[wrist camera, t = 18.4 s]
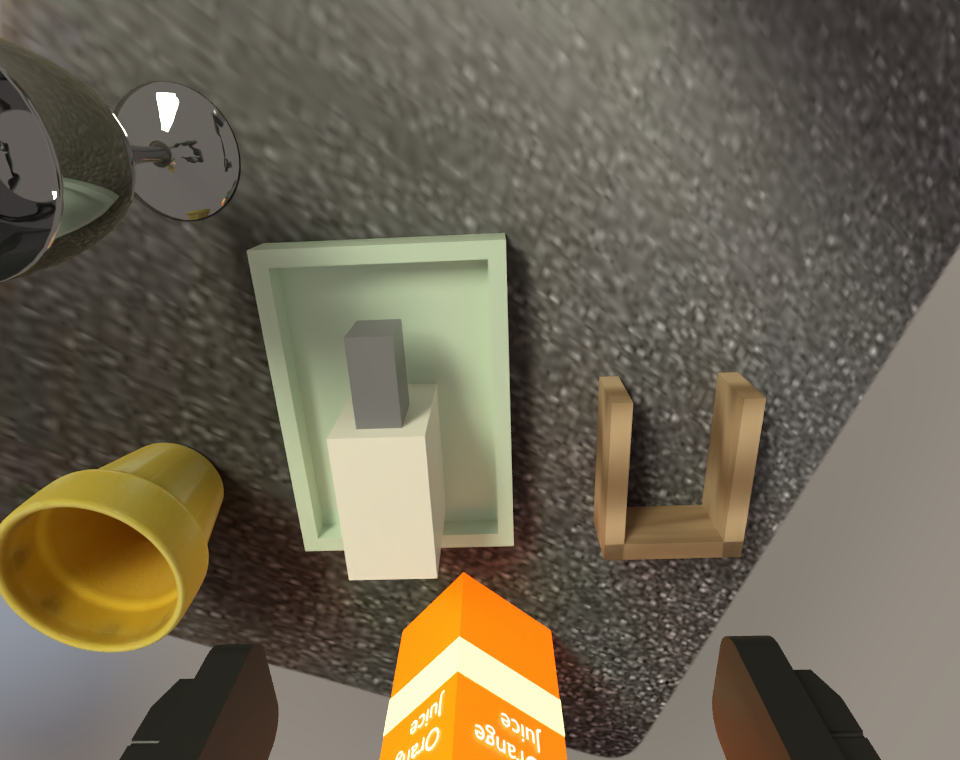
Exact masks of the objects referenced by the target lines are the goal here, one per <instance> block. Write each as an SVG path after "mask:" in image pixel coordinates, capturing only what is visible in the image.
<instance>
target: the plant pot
mask: <svg viewBox="0 0 960 760" xmlns="http://www.w3.org/2000/svg"><path fill="white" fill-rule="evenodd" d="M223 497H224V488H223V483H222V480H221V477H220V475H219V473H218V472H217V470H216V469H215V467H214V466H213V465H212V463H211V462H210V461H209V460H208V459H207V458H205V457H204V456H203V455H201V454H200V453H198V452H196V451H195V450H193V449H191V448H188V447H186V446H183V445H179V444H175V443H155V444H151V445H148V446H145V447H142V448H140V449H138V450H136V451H134V452H132V453H130V454H128V455H126V456H124V457H122V458H120V459H118V460H116V461H114V462H112V463H110V464H108V465H105V466H103V467H101V468H99V469H92V470H83V471H78V472H74V473H71V474H68V475H65V476H63V477H61V478H59V479H57V480H55V481H54V482H52V483H51V484H49V485H48V486H46V487H45V488H43V489H42V490H40V491H39V492H38V493H36V494H35V495H33V496H32V497H31V498H29V499H28V500H27V501H25V502H24V503H23V504H22V505H20V506H19V507H18V508H17V509H15V510H14V511H13V512H12V513H11V514H10V515H8V516H7V517H6V518H5V519H4V520H3V521H2V523H1V524H0V594H1V596H2V597H3V598H4V600H5V601H6V603H7V604H8V605H9V606H10V607H11V609H12V610H13V611H14V612H15V613H16V614H17V615H18V616H19V617H21V618H22V619H23V620H24V621H25V622H26V623H28V624H29V625H31V626H32V627H33V628H35V629H36V630H38V631H39V632H41V633H43V634H45V635H47V636H48V637H50V638H52V639H54V640H56V641H59V642H62V643H64V644H66V645H69V646H72V647H76V648H80V649H84V650H90V651H98V652H124V651H131V650H136V649H140V648H143V647H146V646H148V645H151V644H153V643H155V642H157V641H159V640H161V639H162V638H164V637H165V636H166V635H167V634H169V633H170V632H171V631H172V630H173V629H174V628H175V626H176V625H177V624H178V623H179V621H180V620H181V618H182V616H183V615H184V613H185V612H186V610H187V609H188V607H189V605H190V604H191V602H192V600H193V599H194V597H195V595H196V594H197V592H198V590H199V588H200V586H201V584H202V583H203V580H204V578H205V576H206V573H207V568H208V561H209V552H208V545H207V544H208V541H209V538H210V535H211V532H212V529H213V526H214V523H215V521H216V518H217V515H218V512H219V509H220V507H221V504H222V501H223Z"/></svg>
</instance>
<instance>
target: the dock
mask: <svg viewBox="0 0 960 760" xmlns="http://www.w3.org/2000/svg"><path fill="white" fill-rule="evenodd" d="M765 403H766V398H765V397H764V396H763V395H762V394H761V393H760V392H759V391H758V390H757V389H756V388H754V387H753V386H752V385H751V384H750V383H749V382H748V381H747V380H746V379H745V378H743V377H742V376H741V375H740V374H739V373H738V372H727V373H718V378H717V386H716V394H715V402H714V411H713V419H712V427H711V435H710V443H709V451H708V460H707V468H706V476H705V484H704V492H703V500H702V505H675V506H638V507H627V492H628V476H629V460H630V445H631V429H632V413H633V401H632V400H631V398H630V396H629V394H628V393H627V391H626V389H625V387H624V385H623V384H622V382H621V380H620V378H619V376H610V377H599V396H598V422H597V448H596V475H595V501H594V525H595V529H596V532H597V536H598V539H599V543H600V547H601V550H602V554H603V558H604V560H635V559H676V558H717V557H741V553H742V547H743V541H744V535H745V528H746V522H747V516H748V509H749V503H750V497H751V491H752V484H753V478H754V472H755V466H756V459H757V453H758V447H759V441H760V434H761V428H762V422H763V416H764V409H765Z"/></svg>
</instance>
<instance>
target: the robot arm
mask: <svg viewBox="0 0 960 760" xmlns="http://www.w3.org/2000/svg"><path fill="white" fill-rule="evenodd" d="M712 709H713V718H714V723H715V728H716V732H717V735H718V738H719V741H720V744H721V746H722V749H723V751H724V754H725V757H726V759H727V760H881V759H880V758H879V756H878V754H877V753H876V751H875V750H874V748H873V746H872V745H871V743H870V742H869V740H868V739H867V738H865V737H864V736H863V731H862V729H861V728H860V726H859V725H858V723H857V721H856V720H855V718H854V717H853V715H852V713H851V712H850V710H849V709H848V707H847V706H846V704H845V702H844V701H843V700H842V698H841V697H840V696H839V695H838V694H837V693H836V692H835V691H833V690H832V689H831V688H830V687H829V686H828V685H827V684H826V683H825V682H824V681H822V680H821V679H820V678H819V677H818V676H817V675H816V674H815V673H814V672H813V671H811V670H793V669H792V667H791V665H790V664H789V662H788V660H787V658H786V657H785V655H784V653H783V651H782V650H781V648H780V646H779V645H778V643H777V642H776V641H775V639H774V638H772V637H771V636H726V637H724V638H723V639H722V641H721V645H720V652H719V658H718V665H717V672H716V677H715V684H714V690H713V698H712ZM277 725H278V703H277V699H276V694H275V690H274V686H273V682H272V678H271V675H270V671H269V666H268V662H267V658H266V654H265V651H264V648H263V646H262V645H260V644H230V645H216V646H214V647H213V648H212V649H211V650H210V652H209V653H208V655H207V657H206V658H205V660H204V662H203V664H202V666H201V667H200V669H199V671H198V673H197V675H196V676H195V678H194V679H179V681H177V682H176V683H175V684H174V685H173V686H172V687H171V688H170V689H169V690H168V691H167V692H166V693H165V694H164V695H163V696H162V697H161V698H160V699H159V700H158V701H157V702H156V703H155V704H154V705H153V706H152V707H151V708H150V710H149V712H148V714H147V715H146V717H145V718H144V720H143V722H142V723H141V725H140V727H139V728H138V730H137V731H136V733H135V735H134V737H133V738H132V743H131V745H130V746H127V748H126V750H125V752H124V753H123V755H122V756H121V758H120V760H268V758H269V755H270V752H271V749H272V747H273V743H274V740H275V736H276V731H277Z"/></svg>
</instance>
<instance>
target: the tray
mask: <svg viewBox="0 0 960 760" xmlns="http://www.w3.org/2000/svg"><path fill="white" fill-rule="evenodd" d="M246 251H247V256H248V261H249V266H250V271H251V276H252V281H253V286H254V292H255V297H256V302H257V307H258V312H259V317H260V322H261V327H262V332H263V337H264V343H265V348H266V353H267V358H268V363H269V368H270V373H271V378H272V383H273V388H274V394H275V399H276V404H277V409H278V414H279V419H280V424H281V429H282V434H283V439H284V445H285V450H286V455H287V460H288V465H289V470H290V475H291V480H292V485H293V490H294V495H295V501H296V506H297V511H298V516H299V521H300V526H301V531H302V536H303V541H304V546H305V551H333V550H344V545H343V539H342V533H341V527H340V521H339V514H338V508H337V502H336V496H335V490H334V483H333V477H332V471H331V465H330V459H329V452H328V446H327V440H326V439H327V437H328V435H329V433H330V432H331V430H332V428H333V426H334V425H335V423H336V421H337V419H338V417H339V416H340V414H341V412H342V410H343V408H344V407H345V405H346V403H347V401H348V400H349V398H350V396H351V388H350V381H349V374H348V366H347V359H346V352H345V345H344V337H345V335H346V334H347V333H348V331H349V330H350V329H351V328H352V326H353V325H354V324H355V322H356V321H358V320H386V319H401V321H402V331H403V342H404V352H405V362H406V373H407V383H408V384H419V383H437V392H438V405H439V418H440V431H441V445H442V458H443V471H444V484H445V498H446V511H445V519H444V527H443V535H442V543H441V548H452V547H492V546H514V533H513V494H512V456H511V418H510V379H509V341H508V303H507V265H506V238H505V233H493V234H469V235H446V236H422V237H399V238H375V239H352V240H328V241H304V242H281V243H263V244H260V245H258V246H256V247H253V248H251V249H249V250H246Z"/></svg>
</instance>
